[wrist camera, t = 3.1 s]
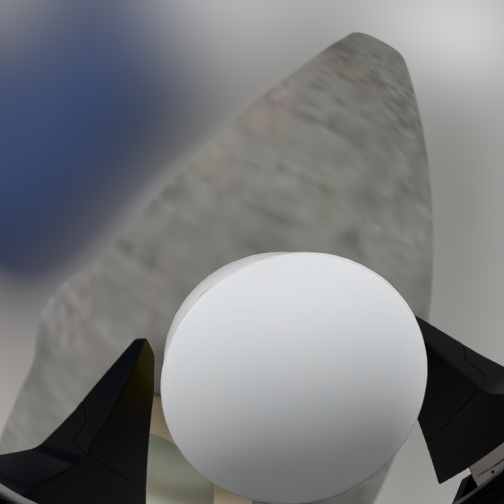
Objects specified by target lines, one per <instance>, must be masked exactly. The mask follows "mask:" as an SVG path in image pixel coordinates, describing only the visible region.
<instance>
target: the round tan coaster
mask: <svg viewBox="0 0 504 504" xmlns="http://www.w3.org/2000/svg"><path fill="white" fill-rule="evenodd" d="M75 409H76V408H75ZM70 415H71V414H70ZM146 504H253V500H249V499H245V498H242V497H240V496H237V495H234V494H232V493H230V492H228V491H226V490H223V489H221V488H219V487H218V486H216V485H215V484H213V483H212V482H210V481H209V480H207V479H206V478H205V477H204V476H202V475H201V474H200V473H199V472H198V471H197V470H196V469H195V468H194V467H193V466H192V465H191V464H190V463H189V462H188V460H187V459H186V458H185V457H184V456H183V454H182V453H181V451H180V450H179V448H178V446H177V445H176V443H175V442H174V440H173V438H172V436H171V434H170V431H169V428H168V426H167V423H166V420H165V417H164V412H163V408H162V401H161V395H159V394H155V393H154V396H153V406H152V415H151V425H150V435H149V448H148V463H147V482H146Z"/></svg>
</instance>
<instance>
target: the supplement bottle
mask: <svg viewBox="0 0 504 504" xmlns="http://www.w3.org/2000/svg"><path fill="white" fill-rule="evenodd" d="M426 381H427V355H426V349H425V345H424V341H423V337H422V333H421V331H420V328H419V325H418V323H417V321H416V318H415V316H414V314H413V313H412V311H411V309H410V308H409V306H408V304H407V303H406V302H405V300H404V299H403V298H402V297H401V296H400V294H399V293H398V292H397V291H396V290H395V289H394V288H393V287H392V286H391V284H390V283H388V282H387V281H386V280H385V279H384V278H382V277H381V276H379V275H378V274H376V273H375V272H373V271H372V270H370V269H368V268H366V267H364V266H363V265H360V264H358V263H356V262H354V261H351V260H349V259H345V258H342V257H339V256H335V255H330V254H325V253H315V252H294V253H291V252H271V253H262V254H257V255H252V256H248V257H245V258H242V259H240V260H237V261H234V262H231V263H229V264H227V265H225V266H223V267H222V268H220V269H218V270H217V271H215V272H214V273H212V274H211V275H209V276H208V277H207V278H206V279H204V280H203V281H202V282H201V283H200V284H199V285H198V286H197V287H196V288H195V289H194V290H193V291H192V292H191V293H190V294H189V295H188V297H187V298H186V299H185V301H184V302H183V303H182V305H181V307H180V308H179V310H178V312H177V313H176V315H175V317H174V319H173V322H172V324H171V326H170V329H169V332H168V335H167V339H166V345H165V351H164V363H163V367H162V374H161V401H162V408H163V412H164V417H165V420H166V423H167V426H168V428H169V431H170V434H171V436H172V438H173V440H174V442H175V443H176V445H177V446H178V448H179V450H180V451H181V453H182V454H183V456H184V457H185V458H186V459H187V460H188V462H189V463H190V464H191V465H192V466H193V467H194V468H195V469H196V470H197V471H198V472H199V473H200V474H201V475H202V476H204V477H205V478H206V479H207V480H209V481H210V482H212V483H213V484H215V485H216V486H218V487H219V488H221V489H223V490H226V491H228V492H230V493H232V494H234V495H237V496H240V497H242V498H245V499H249V500H253V501H258V502H263V503H270V504H303V503H311V502H316V501H319V500H324V499H327V498H330V497H333V496H336V495H338V494H341V493H343V492H346V491H348V490H350V489H352V488H354V487H355V486H357V485H359V484H360V483H362V482H364V481H365V480H367V479H368V478H369V477H371V476H372V475H373V474H375V473H376V472H377V471H379V470H380V469H381V468H382V467H383V466H385V465H386V464H387V463H388V461H389V460H390V459H391V458H392V457H393V456H394V455H395V454H396V453H397V451H398V450H399V449H400V448H401V446H402V445H403V443H404V442H405V440H406V439H407V438H408V436H409V434H410V432H411V431H412V429H413V427H414V425H415V423H416V420H417V418H418V415H419V412H420V409H421V406H422V403H423V399H424V395H425V389H426Z"/></svg>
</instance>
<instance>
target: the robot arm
mask: <svg viewBox="0 0 504 504" xmlns="http://www.w3.org/2000/svg"><path fill="white" fill-rule="evenodd" d="M414 316H415V315H414ZM415 318H416V321H417V323H418V325H419V328H420V331H421V333H422V337H423V341H424V345H425V349H426V355H427V381H426V389H425V395H424V399H423V403H422V406H421V409H420V412H419V415H418V418H417V419H418V421H419V424H420V427H421V430H422V432H423V435H424V438H425V441H426V444H427V447H428V450H429V453H430V456H431V459H432V463H433V466H434V469H435V472H436V476H437V479H438V482H439V484H441V483H443V482H445V481H447V480H448V479H450V478H452V477H453V476H455V475H457V474H459V473H460V472H462V471H464V470H465V469H467V468H468V467H469V469H470V472H471V474H470V475H468V476H467V477H465V478H464V479H463V480H462V481H461V484H460V487H459V489H458V491H457V494H456V496H455V498H454V501H453V503H452V504H504V367H503V366H501V365H499V364H497V363H495V362H493V361H492V360H490V359H488V358H486V357H484V356H482V355H480V354H478V353H477V352H475V351H473V350H472V349H470V348H468V347H467V346H465V345H463V344H462V343H460V342H458V341H457V340H455V339H453V338H452V337H450V336H448V335H447V334H445V333H444V332H442V331H440V330H439V329H437V328H435V327H434V326H432V325H430V324H429V323H427V322H425V321H424V320H422V319H420V318H419V317H417V316H415ZM153 396H154V353H153V351H152V349H151V347H150V345H149V342H148V341H147V339H145V338H140V339H135V340H134V341H133V342H132V343H131V345H130V346H129V347H128V348H127V349H126V350H125V351H124V353H123V354H122V355H121V356H120V357H119V358H118V359H117V361H116V362H115V363H114V364H113V365H112V366H111V368H110V369H109V370H108V371H107V372H106V373H105V375H104V376H103V377H102V378H101V379H100V380H99V382H98V383H97V384H96V385H95V386H94V387H93V389H92V390H91V391H90V392H89V393H88V395H87V396H86V397H85V398H84V399H83V401H82V402H81V403H80V404H79V405H78V406H77V408H76V409H75V410H74V411H73V412H72V413H71V415H70V416H69V417H68V418H67V419H66V420H65V421H64V422H63V423H62V424H61V425H60V426H59V427H58V428H57V429H56V430H55V431H54V432H53V433H52V434H51V435H50V436H49V437H48V438H47V439H46V440H45V441H44V442H43V443H42V444H40V445H39V446H37V447H35V448H33V449H29V450H25V451H20V452H14V453H9V454H2V455H0V504H146V482H147V463H148V448H149V435H150V425H151V415H152V406H153Z"/></svg>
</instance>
